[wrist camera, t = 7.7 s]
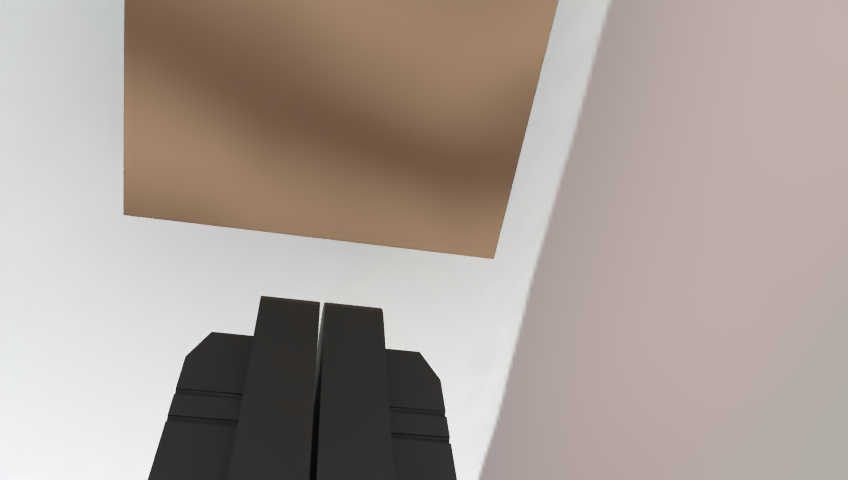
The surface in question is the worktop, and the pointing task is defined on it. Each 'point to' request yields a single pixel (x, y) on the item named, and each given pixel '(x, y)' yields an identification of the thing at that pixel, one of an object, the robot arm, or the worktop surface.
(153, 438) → the worktop surface
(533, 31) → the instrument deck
